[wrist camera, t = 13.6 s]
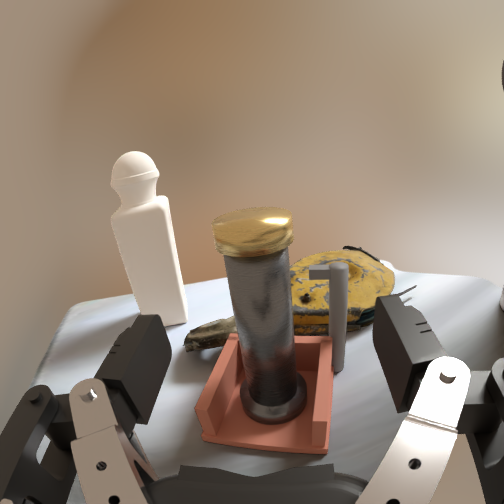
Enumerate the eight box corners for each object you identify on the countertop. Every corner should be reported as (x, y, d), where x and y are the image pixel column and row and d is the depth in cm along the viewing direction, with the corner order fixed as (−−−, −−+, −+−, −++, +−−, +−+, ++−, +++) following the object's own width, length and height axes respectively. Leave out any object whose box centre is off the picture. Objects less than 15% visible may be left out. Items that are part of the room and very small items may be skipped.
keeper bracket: (343, 361, 29) (348, 261, 25) (340, 454, 19) (356, 351, 15) (237, 357, 31) (220, 263, 27) (203, 440, 22) (163, 340, 18)
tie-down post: (310, 378, 26) (302, 203, 20) (303, 427, 21) (293, 231, 15) (250, 375, 28) (222, 208, 22) (234, 421, 23) (189, 235, 17)
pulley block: (162, 284, 35) (358, 227, 46) (171, 320, 38) (354, 259, 49) (197, 371, 24) (428, 270, 35) (208, 406, 27) (418, 305, 38)
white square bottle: (191, 324, 38) (154, 146, 30) (143, 332, 37) (96, 160, 29) (189, 299, 44) (159, 145, 36) (147, 307, 43) (110, 156, 35)
